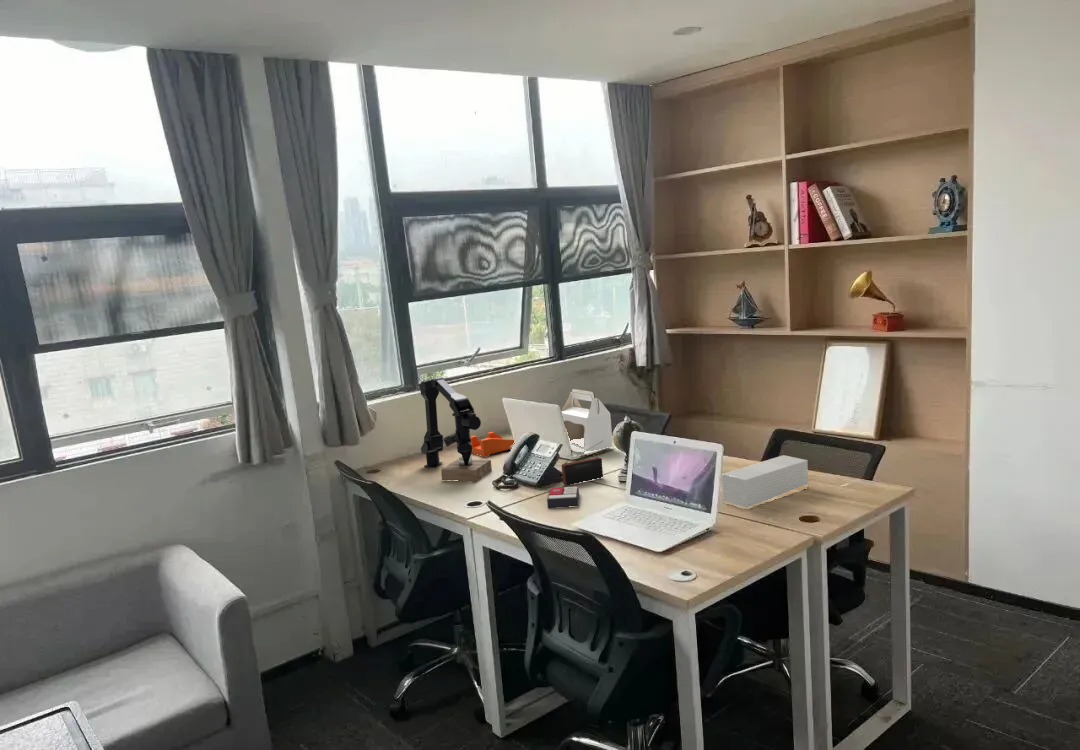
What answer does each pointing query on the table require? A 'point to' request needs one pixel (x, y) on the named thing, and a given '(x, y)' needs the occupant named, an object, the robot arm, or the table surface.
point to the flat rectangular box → (563, 497)
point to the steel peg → (463, 461)
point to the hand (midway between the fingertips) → (465, 462)
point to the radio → (582, 470)
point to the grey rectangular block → (764, 480)
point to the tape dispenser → (490, 444)
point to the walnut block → (466, 470)
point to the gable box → (587, 421)
